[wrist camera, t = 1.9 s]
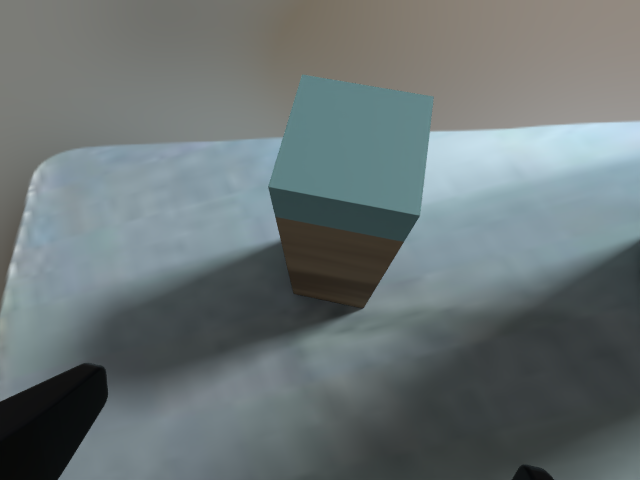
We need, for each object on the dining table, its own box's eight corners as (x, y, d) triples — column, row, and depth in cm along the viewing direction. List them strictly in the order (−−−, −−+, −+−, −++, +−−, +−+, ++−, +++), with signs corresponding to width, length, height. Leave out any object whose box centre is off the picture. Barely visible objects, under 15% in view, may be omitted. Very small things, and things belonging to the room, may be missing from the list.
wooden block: (363, 308, 22) (419, 215, 10) (293, 293, 23) (268, 186, 10) (374, 243, 24) (433, 96, 12) (308, 230, 24) (302, 74, 12)
